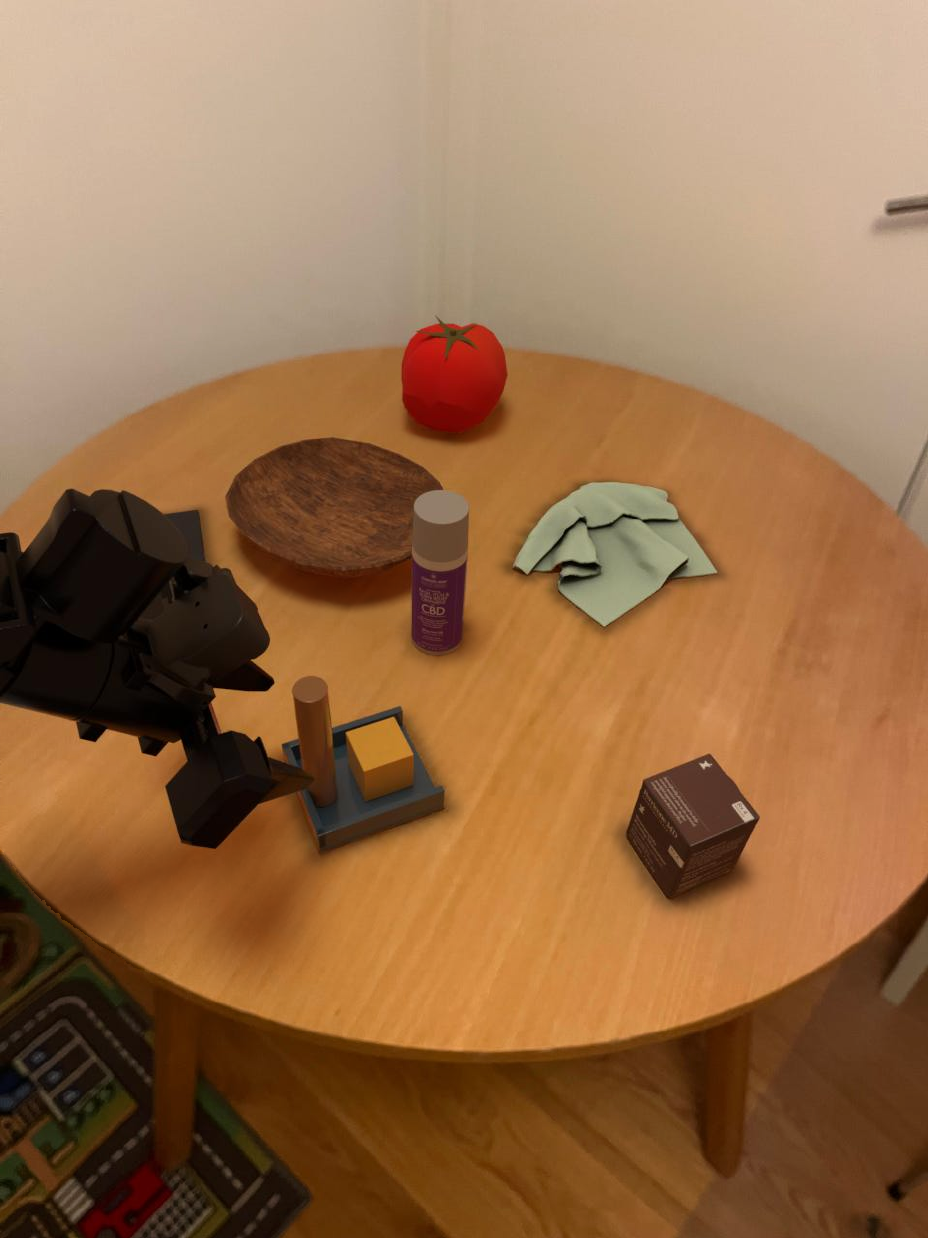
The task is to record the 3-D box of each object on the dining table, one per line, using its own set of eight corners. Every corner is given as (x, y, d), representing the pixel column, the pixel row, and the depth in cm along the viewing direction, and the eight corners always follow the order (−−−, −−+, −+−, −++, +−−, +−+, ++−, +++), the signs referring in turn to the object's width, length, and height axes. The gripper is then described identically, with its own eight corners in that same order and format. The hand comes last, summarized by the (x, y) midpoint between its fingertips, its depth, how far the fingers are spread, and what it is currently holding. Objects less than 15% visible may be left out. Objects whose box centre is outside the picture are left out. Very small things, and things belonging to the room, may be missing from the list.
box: (623, 833, 70) (640, 777, 65) (688, 807, 72) (710, 750, 67) (667, 901, 66) (690, 847, 61) (735, 871, 68) (762, 816, 63)
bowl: (320, 454, 103) (317, 416, 100) (483, 529, 95) (486, 490, 92) (191, 544, 92) (182, 504, 88) (364, 639, 83) (362, 599, 80)
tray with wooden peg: (320, 854, 68) (306, 746, 58) (284, 762, 73) (266, 650, 64) (444, 808, 71) (449, 699, 62) (400, 724, 77) (399, 612, 67)
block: (365, 802, 70) (363, 771, 67) (347, 763, 73) (345, 732, 70) (413, 785, 71) (414, 754, 69) (394, 747, 74) (394, 716, 71)
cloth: (670, 481, 103) (675, 463, 101) (739, 617, 87) (745, 599, 86) (490, 490, 100) (492, 471, 98) (529, 633, 85) (531, 614, 83)
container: (417, 659, 82) (419, 528, 71) (406, 623, 85) (406, 492, 74) (468, 651, 83) (477, 520, 72) (455, 615, 86) (462, 485, 75)
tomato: (376, 412, 110) (374, 322, 102) (462, 379, 116) (466, 291, 108) (440, 460, 104) (443, 368, 95) (527, 422, 110) (537, 332, 102)
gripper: (207, 691, 44) (417, 756, 56) (133, 477, 56) (319, 566, 68) (79, 836, 47) (303, 869, 59) (35, 604, 59) (228, 669, 71)
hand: (289, 731), depth 64 cm, fingers open, 9 cm apart
